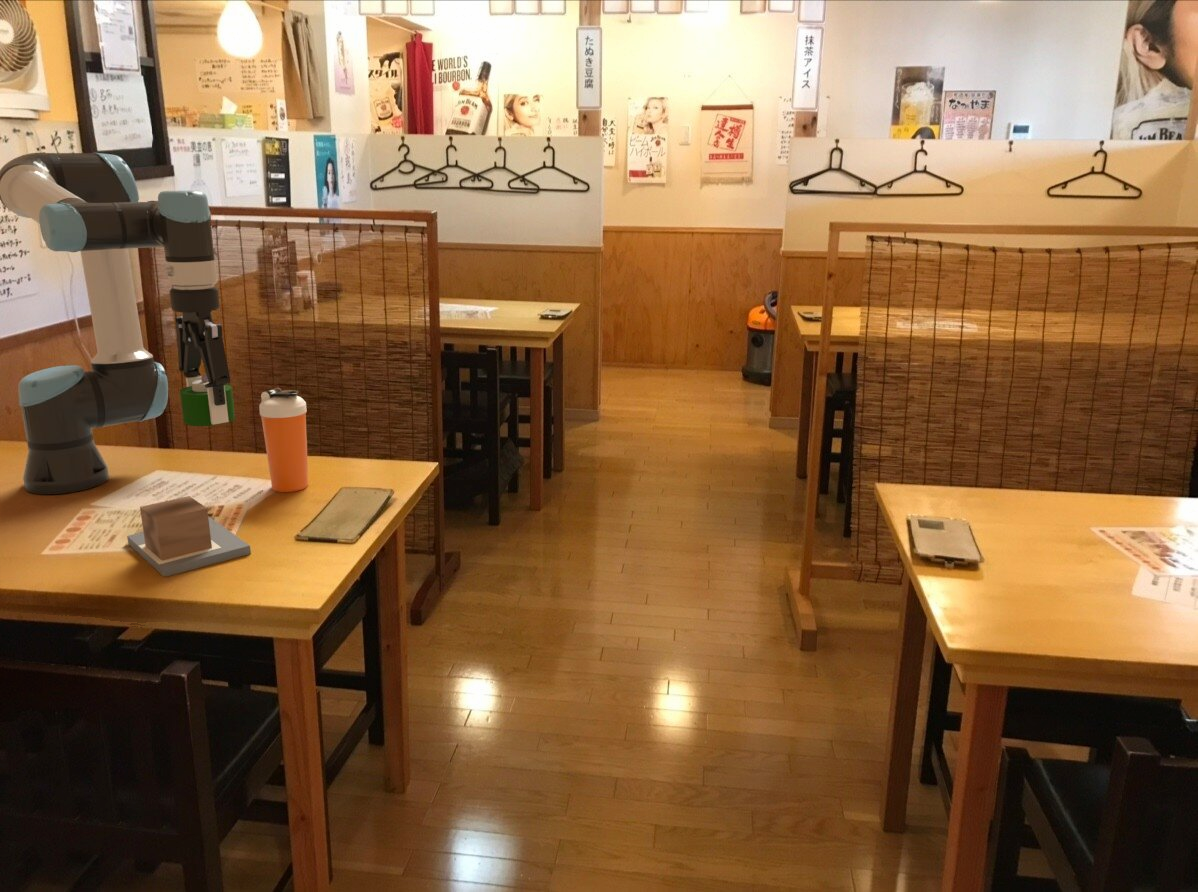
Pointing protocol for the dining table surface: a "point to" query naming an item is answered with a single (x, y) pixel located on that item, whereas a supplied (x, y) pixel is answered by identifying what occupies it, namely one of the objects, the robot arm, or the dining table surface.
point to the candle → (202, 402)
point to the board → (222, 550)
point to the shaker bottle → (285, 438)
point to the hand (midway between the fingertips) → (209, 417)
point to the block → (176, 527)
